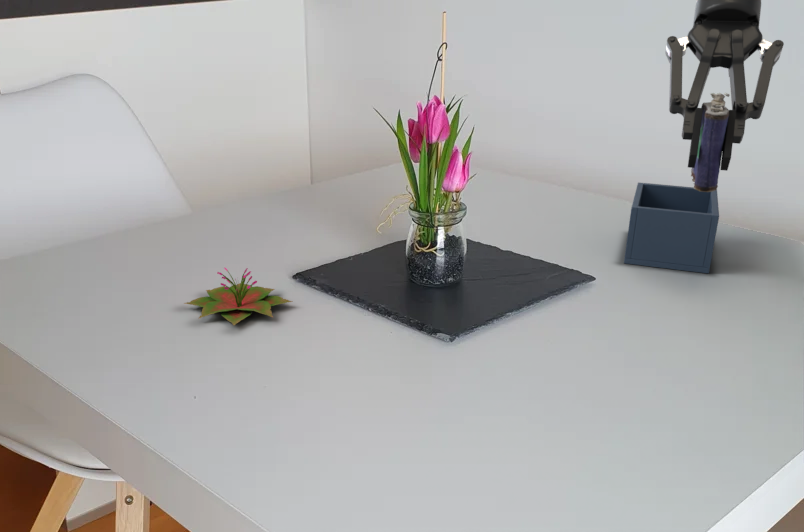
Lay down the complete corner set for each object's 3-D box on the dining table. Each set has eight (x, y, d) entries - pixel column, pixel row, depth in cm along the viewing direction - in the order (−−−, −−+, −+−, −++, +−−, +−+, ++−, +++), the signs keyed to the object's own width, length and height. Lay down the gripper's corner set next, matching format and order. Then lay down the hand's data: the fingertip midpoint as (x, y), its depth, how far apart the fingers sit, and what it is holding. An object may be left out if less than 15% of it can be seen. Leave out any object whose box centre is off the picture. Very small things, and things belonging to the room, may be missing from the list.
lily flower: (311, 306, 98) (311, 270, 96) (232, 338, 89) (230, 299, 88) (244, 281, 105) (242, 246, 103) (165, 308, 97) (161, 271, 95)
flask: (689, 172, 106) (703, 85, 101) (714, 174, 105) (730, 87, 101) (692, 191, 97) (708, 98, 93) (719, 193, 97) (737, 99, 92)
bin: (707, 242, 120) (717, 189, 117) (708, 273, 108) (719, 215, 105) (630, 233, 124) (637, 182, 121) (623, 263, 112) (631, 207, 109)
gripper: (663, -21, 104) (638, 139, 96) (806, -19, 99) (792, 150, 91) (658, 21, 110) (634, 173, 102) (792, 25, 105) (778, 186, 97)
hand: (708, 162), depth 96 cm, fingers closed on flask, 3 cm apart
